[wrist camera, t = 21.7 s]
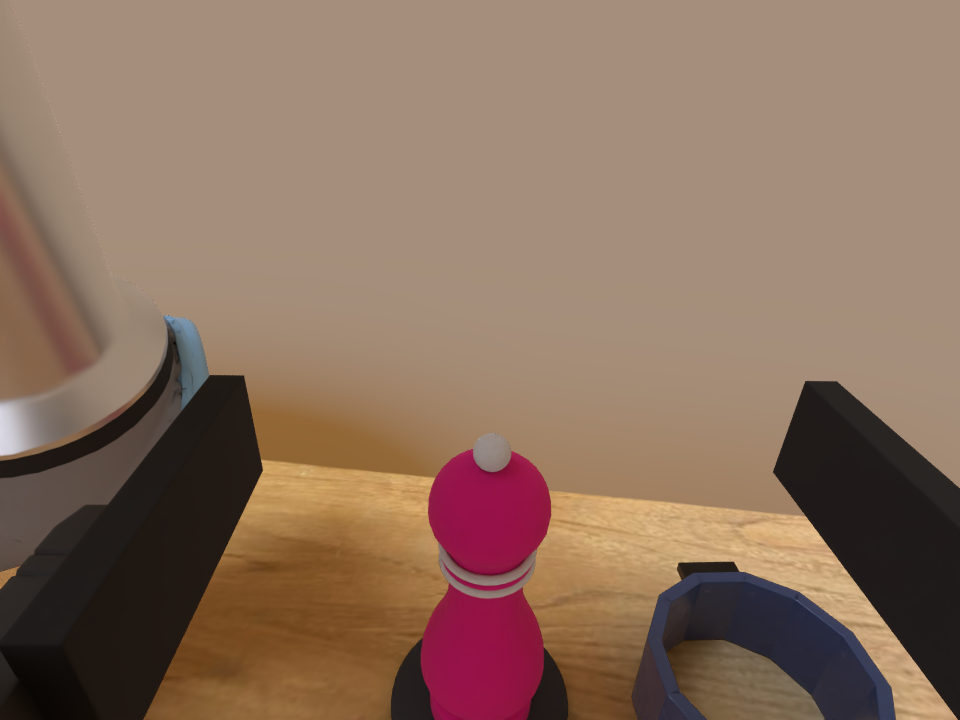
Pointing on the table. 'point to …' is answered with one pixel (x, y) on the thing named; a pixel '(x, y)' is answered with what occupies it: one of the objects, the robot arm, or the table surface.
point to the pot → (757, 644)
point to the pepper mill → (485, 584)
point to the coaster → (414, 696)
